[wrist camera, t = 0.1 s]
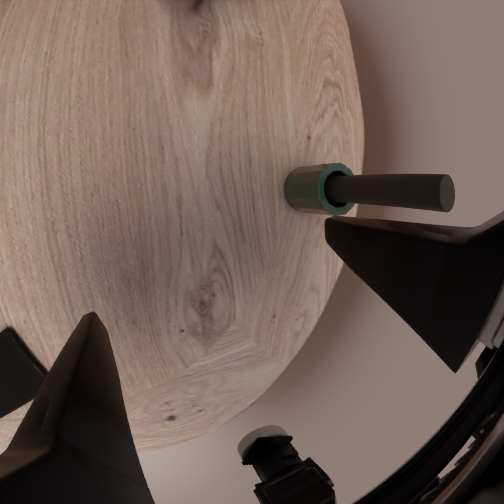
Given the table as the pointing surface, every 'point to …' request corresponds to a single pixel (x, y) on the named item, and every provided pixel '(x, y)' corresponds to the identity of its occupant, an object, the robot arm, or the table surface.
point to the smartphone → (17, 373)
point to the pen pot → (315, 189)
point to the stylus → (393, 190)
